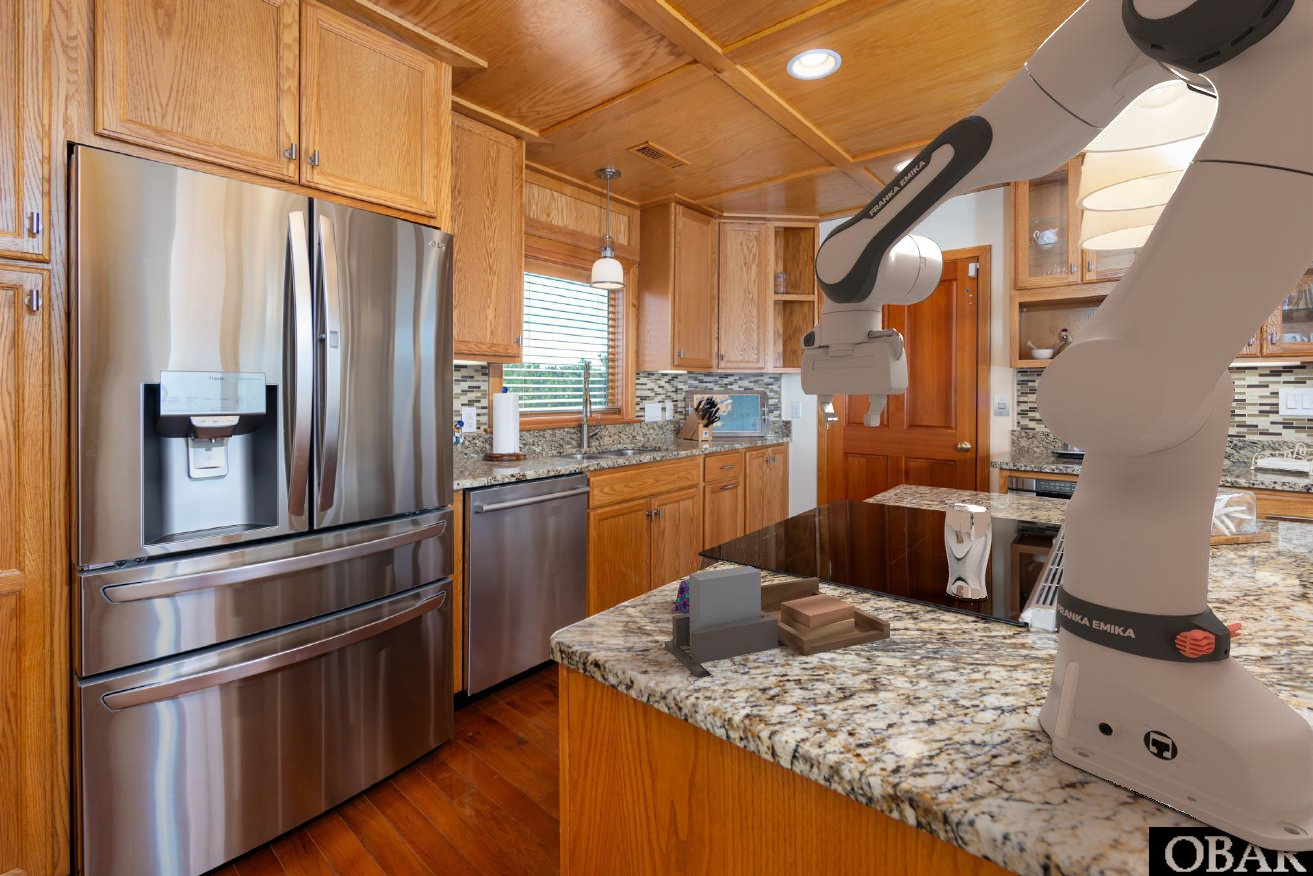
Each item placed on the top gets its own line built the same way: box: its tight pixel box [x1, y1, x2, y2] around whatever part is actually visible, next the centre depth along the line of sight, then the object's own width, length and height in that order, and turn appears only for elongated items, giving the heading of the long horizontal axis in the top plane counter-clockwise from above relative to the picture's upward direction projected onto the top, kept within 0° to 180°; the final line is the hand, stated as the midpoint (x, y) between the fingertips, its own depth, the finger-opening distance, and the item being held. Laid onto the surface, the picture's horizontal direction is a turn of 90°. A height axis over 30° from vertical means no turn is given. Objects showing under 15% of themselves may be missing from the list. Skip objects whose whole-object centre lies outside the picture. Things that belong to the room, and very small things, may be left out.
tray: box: [761, 576, 891, 657], centre depth 89 cm, size 16×14×5 cm
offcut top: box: [781, 593, 855, 629], centre depth 87 cm, size 6×8×2 cm
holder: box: [664, 613, 779, 679], centre depth 82 cm, size 10×13×5 cm
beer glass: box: [944, 503, 993, 599], centre depth 103 cm, size 7×7×15 cm
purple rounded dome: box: [674, 578, 690, 614], centre depth 97 cm, size 12×12×5 cm
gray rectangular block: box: [688, 565, 762, 650], centre depth 82 cm, size 3×9×10 cm, turn 113°
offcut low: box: [781, 616, 855, 641], centre depth 87 cm, size 6×8×2 cm
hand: (849, 424), depth 96 cm, fingers open, 8 cm apart
